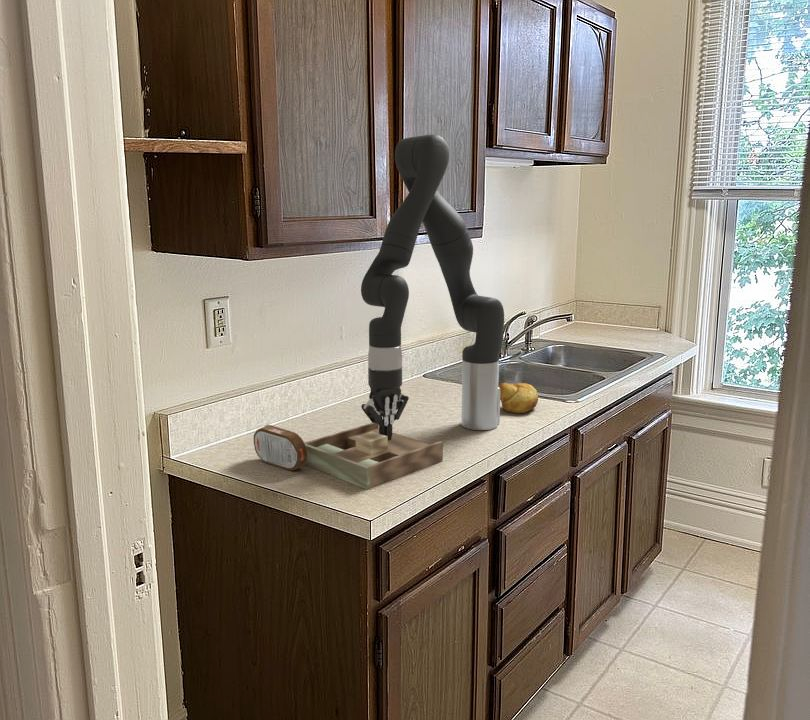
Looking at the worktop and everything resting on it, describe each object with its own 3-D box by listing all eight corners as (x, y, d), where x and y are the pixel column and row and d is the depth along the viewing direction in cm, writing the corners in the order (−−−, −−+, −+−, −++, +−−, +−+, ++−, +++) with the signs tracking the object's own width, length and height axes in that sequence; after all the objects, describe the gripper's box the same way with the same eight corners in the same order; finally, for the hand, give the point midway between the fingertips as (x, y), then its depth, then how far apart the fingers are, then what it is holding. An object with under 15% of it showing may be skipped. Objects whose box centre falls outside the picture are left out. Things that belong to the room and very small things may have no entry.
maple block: (372, 444, 171) (372, 431, 170) (387, 449, 168) (387, 436, 167) (355, 449, 168) (355, 436, 167) (371, 454, 164) (370, 441, 164)
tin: (309, 471, 163) (307, 434, 161) (298, 475, 161) (297, 437, 159) (262, 456, 172) (261, 421, 171) (251, 460, 170) (250, 424, 168)
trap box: (376, 439, 184) (376, 421, 183) (442, 461, 169) (442, 441, 168) (301, 463, 168) (300, 443, 167) (367, 489, 153) (366, 468, 152)
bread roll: (517, 401, 217) (518, 373, 215) (547, 406, 211) (548, 379, 209) (493, 411, 207) (493, 382, 205) (524, 417, 201) (525, 388, 199)
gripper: (394, 357, 174) (395, 430, 178) (351, 367, 165) (352, 443, 168) (418, 363, 169) (418, 437, 172) (374, 372, 160) (375, 451, 163)
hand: (385, 440), depth 170 cm, fingers closed
